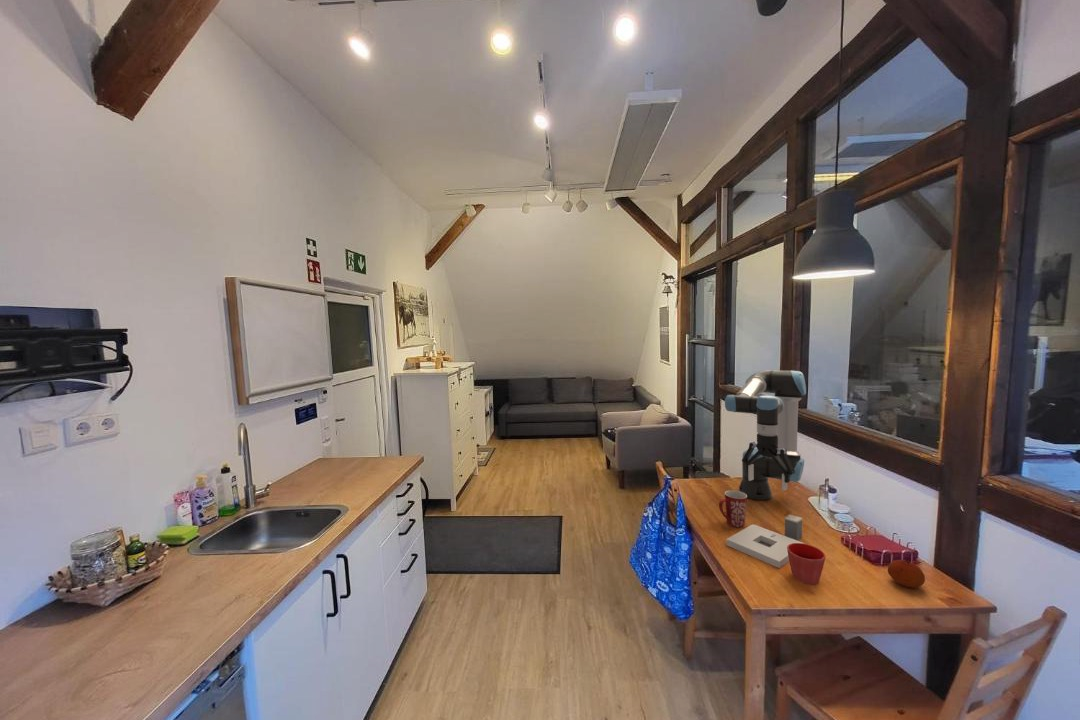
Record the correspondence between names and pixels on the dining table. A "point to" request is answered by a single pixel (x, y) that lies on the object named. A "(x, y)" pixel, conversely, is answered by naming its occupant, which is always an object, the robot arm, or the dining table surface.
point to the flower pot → (806, 562)
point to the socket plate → (762, 544)
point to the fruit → (906, 573)
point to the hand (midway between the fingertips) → (767, 484)
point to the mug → (734, 508)
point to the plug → (793, 527)
